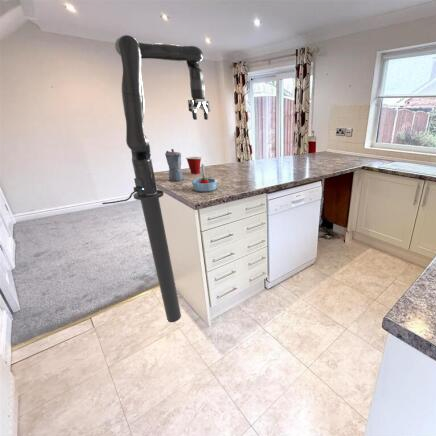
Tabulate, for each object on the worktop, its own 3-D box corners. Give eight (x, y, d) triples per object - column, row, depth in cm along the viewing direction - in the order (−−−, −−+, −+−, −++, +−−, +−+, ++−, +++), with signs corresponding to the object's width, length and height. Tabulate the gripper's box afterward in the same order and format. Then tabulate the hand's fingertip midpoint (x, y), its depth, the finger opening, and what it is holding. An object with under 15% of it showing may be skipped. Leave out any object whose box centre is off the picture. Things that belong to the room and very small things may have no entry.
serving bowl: (205, 193, 139) (204, 185, 137) (188, 189, 144) (186, 181, 142) (221, 187, 150) (221, 179, 148) (205, 184, 155) (204, 176, 153)
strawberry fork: (205, 189, 144) (202, 165, 138) (199, 188, 146) (196, 164, 140) (211, 187, 148) (208, 163, 142) (205, 186, 150) (202, 162, 144)
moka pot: (176, 183, 156) (171, 150, 148) (162, 179, 163) (156, 148, 155) (189, 180, 164) (185, 149, 156) (175, 176, 171) (170, 146, 163)
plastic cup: (206, 172, 185) (204, 156, 180) (197, 175, 175) (195, 158, 170) (194, 171, 187) (192, 155, 183) (184, 174, 178) (182, 157, 173)
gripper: (192, 87, 132) (196, 120, 138) (211, 90, 144) (214, 119, 150) (182, 87, 135) (186, 119, 141) (202, 90, 147) (204, 119, 153)
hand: (200, 119), depth 146 cm, fingers open, 8 cm apart
